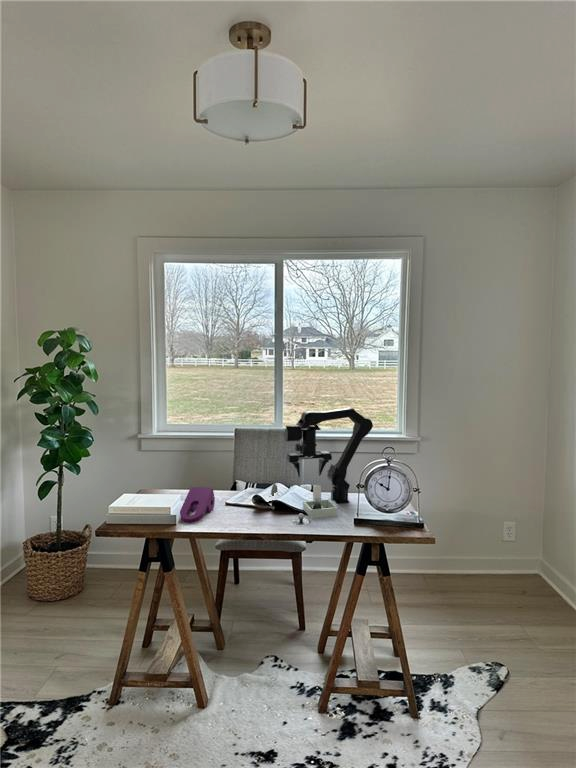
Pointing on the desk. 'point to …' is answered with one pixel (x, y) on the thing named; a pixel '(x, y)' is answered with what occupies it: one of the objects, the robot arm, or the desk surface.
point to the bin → (323, 512)
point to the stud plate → (301, 520)
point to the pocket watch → (274, 488)
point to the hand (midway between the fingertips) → (309, 476)
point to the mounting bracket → (197, 503)
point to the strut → (316, 497)
